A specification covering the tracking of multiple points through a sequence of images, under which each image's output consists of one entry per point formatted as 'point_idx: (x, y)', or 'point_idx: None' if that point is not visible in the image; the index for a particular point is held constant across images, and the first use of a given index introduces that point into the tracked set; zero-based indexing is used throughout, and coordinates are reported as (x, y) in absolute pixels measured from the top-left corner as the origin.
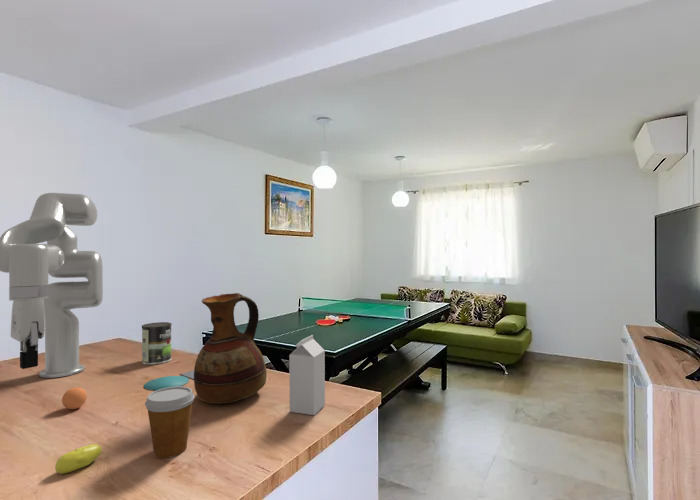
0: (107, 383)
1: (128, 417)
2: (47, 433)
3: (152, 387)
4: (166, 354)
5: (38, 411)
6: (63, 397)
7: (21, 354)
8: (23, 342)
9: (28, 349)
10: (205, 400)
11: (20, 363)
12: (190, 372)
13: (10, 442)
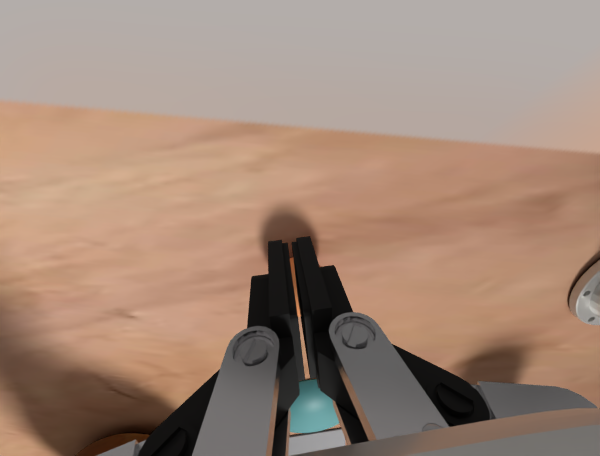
0: (419, 337)
1: (147, 335)
2: (153, 203)
3: (302, 388)
4: None
5: (347, 205)
6: (294, 270)
7: (273, 303)
8: (234, 452)
9: (209, 384)
10: (105, 439)
11: (297, 251)
12: (336, 440)
13: (143, 124)
